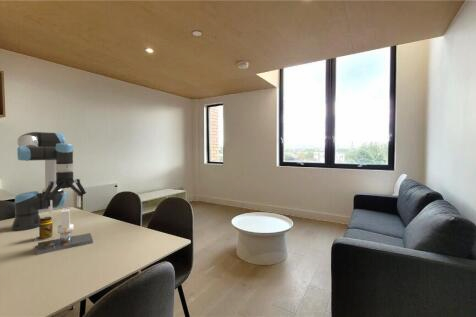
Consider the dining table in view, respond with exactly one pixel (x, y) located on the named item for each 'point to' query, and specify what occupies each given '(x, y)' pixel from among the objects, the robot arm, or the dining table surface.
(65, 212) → the lever handle
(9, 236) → the dining table surface
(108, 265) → the dining table surface
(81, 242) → the base plate
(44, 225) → the condiment
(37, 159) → the robot arm
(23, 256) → the dining table surface
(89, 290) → the dining table surface
